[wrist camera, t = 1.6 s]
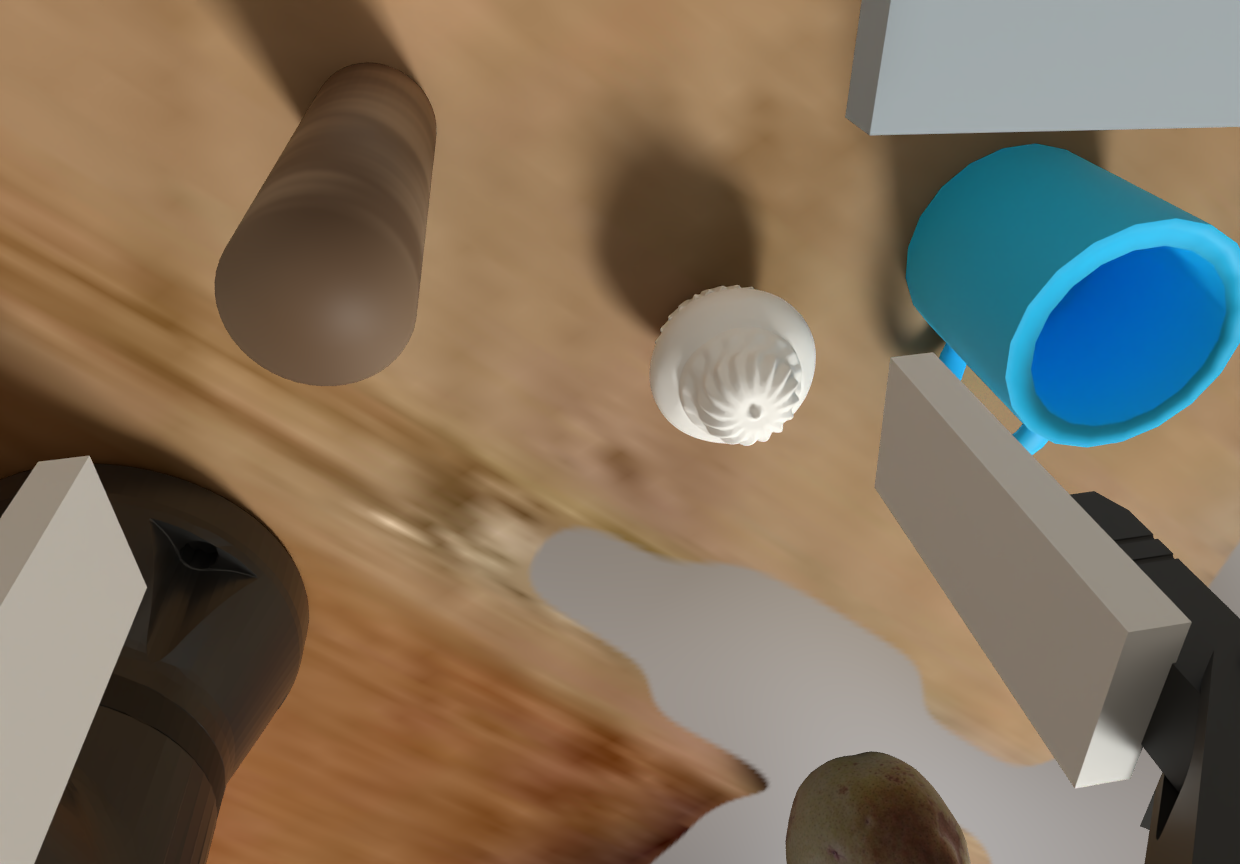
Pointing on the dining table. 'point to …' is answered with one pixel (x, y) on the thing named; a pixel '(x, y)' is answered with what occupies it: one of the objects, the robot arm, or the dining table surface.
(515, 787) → the dining table surface
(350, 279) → the peg
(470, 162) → the dining table surface
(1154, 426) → the mug
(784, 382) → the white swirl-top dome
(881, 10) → the grey-topped arch
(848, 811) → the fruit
